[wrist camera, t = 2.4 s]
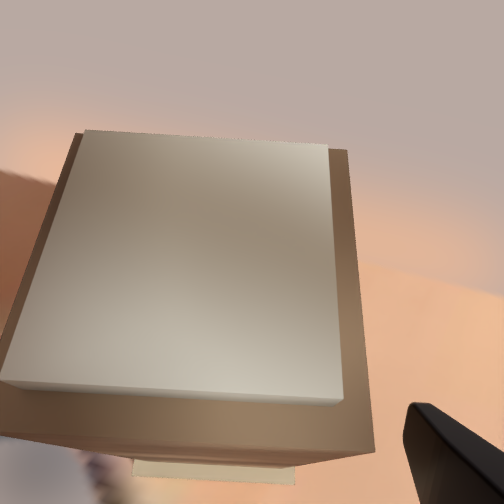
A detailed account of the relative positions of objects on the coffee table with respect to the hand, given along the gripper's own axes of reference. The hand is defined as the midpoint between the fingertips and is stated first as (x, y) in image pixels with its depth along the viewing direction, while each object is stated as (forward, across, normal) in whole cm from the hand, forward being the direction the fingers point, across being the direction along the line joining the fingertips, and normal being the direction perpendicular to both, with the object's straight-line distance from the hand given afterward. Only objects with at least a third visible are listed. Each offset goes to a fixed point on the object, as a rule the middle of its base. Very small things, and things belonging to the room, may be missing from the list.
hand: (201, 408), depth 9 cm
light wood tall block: (+8, 0, +5) cm, 9 cm away
